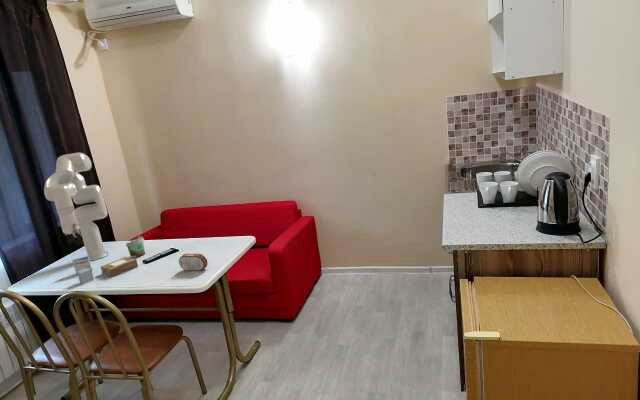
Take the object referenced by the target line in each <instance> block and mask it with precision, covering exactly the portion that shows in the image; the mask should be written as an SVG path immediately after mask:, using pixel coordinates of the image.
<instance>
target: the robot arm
mask: <svg viewBox="0 0 640 400" xmlns="http://www.w3.org/2000/svg"><path fill="white" fill-rule="evenodd" d="M91 169H92V161H91V159H90V157H89V156H88V155H87V154H85V153H84V152H74V153H68V154H67V153H66V154H63V155H61V156H59V157H58V158H57V159H56V165H55V172H54V173H53V174H51V175H50V176H49V177H48V178H47V179H46V180H45V181H44V190H43V192H44V196H45V199H46V200H47V201H50V202H54V205H55V209H56V212H57V215H58V217H59V222H60V227H61V230H62V233H63V234H64V235H65V236H66V237H65V238H66V241H67V244H72V243H75V245H76V246H79V245H82V244H84V248H85V251H86V255H89V259H90V262H91V261H97V260H99V259H102V258H105V257H106V256H108V255H109V251H106V250H105V247H104V243H103V240H102V236H101V233H100V230H99V227H98V225H97V224H96V223H95V222H94V221H97V220H102V219H105V218H107V217H108V209H107V205H106V201H105V200H106V199H105V197H104V194H103V190H102V188H101V187H100V186H99V184H98V185H97V184H91V185H87V184H86V181H85V178H84V176H83V175H81V174H80V172H81V173H82V172H87V171H90V170H91ZM93 202H95V203H93ZM89 203H91V204H89ZM92 203H93V204H92ZM74 204H76V205H82V204H86V205H82V206H79V207H76V208H75V205H74Z"/></svg>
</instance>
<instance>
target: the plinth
mask: <svg viewBox="0 0 640 400" xmlns="http://www.w3.org/2000/svg"><path fill="white" fill-rule="evenodd" d="M138 267H139V264H138V261H137V258H135V259H132V258H131V257H127V256H125V257H122V258H120V259H117V260H114V261H111V262H110V263H107V264H104V265H102V266H100V271H101V273H102V275H106V276H107V277H112V278H114V277H117V276H119V275H121V274H123V273H127V272H130V271H131V270H134V269H136V268H138Z"/></svg>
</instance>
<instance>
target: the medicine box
mask: <svg viewBox="0 0 640 400" xmlns="http://www.w3.org/2000/svg"><path fill="white" fill-rule="evenodd" d="M72 264H73V268H74V270H75V274H76V276H78V274H77V272H78V271H80V270H83V269H86V268H88V269H91V271H92V272H93V266H92V263H91V261H90V259H89V255H87V254H86V255H81V256H77V257H74V258H72Z"/></svg>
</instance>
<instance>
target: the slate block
mask: <svg viewBox="0 0 640 400" xmlns="http://www.w3.org/2000/svg"><path fill="white" fill-rule="evenodd" d="M92 272H93V270H92V271H91V269H88V268H86V269H83V270H80V271H78V272H77V274H78V275H77V274H76V275H77V277H78V279H79V283H80V284H83V285H85V284H88V283H90V282H93V281H95V278H94V275H93V273H92Z"/></svg>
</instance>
